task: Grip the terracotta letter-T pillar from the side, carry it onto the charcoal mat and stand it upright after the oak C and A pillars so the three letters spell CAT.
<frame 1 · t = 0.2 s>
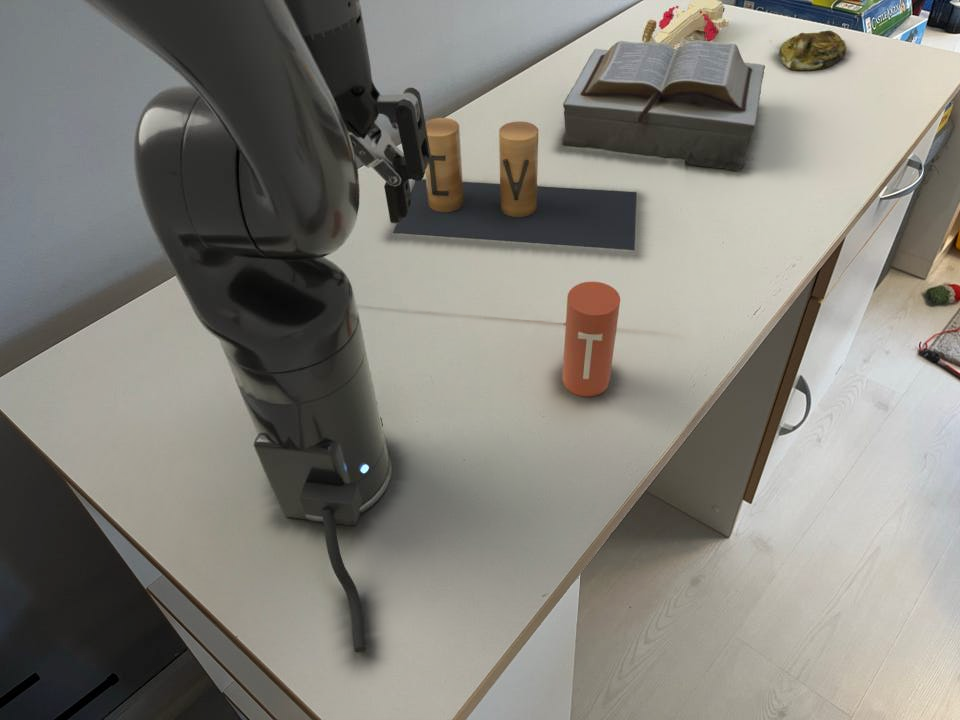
hand: (347, 213, 57), 17 cm above the table, tool pointing down, fingers open, 8 cm apart
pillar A: (518, 207, 87), point 1 cm above the table, touching word mat
word mat: (517, 216, 87), on the table
seal: (810, 55, 116), on the table
pillar T: (585, 379, 67), on the table
bible: (660, 128, 101), on the table
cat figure: (677, 49, 120), on the table
pillar C: (446, 202, 88), point 1 cm above the table, touching word mat
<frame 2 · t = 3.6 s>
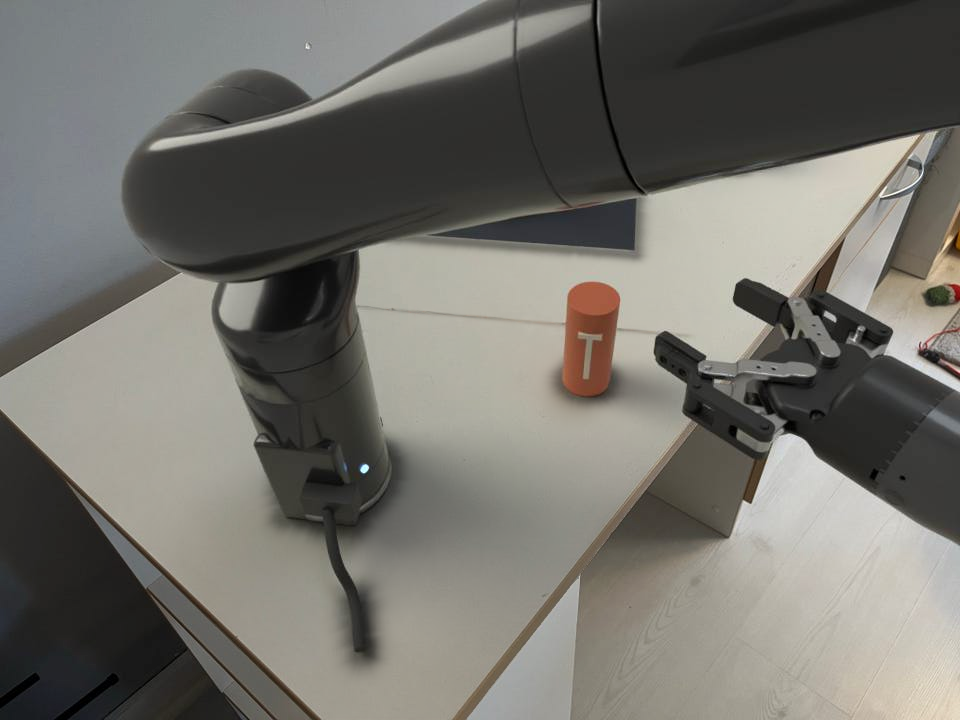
hand: (698, 315, 51), 15 cm above the table, tool horizontal, fingers open, 8 cm apart
nothing on the table moved.
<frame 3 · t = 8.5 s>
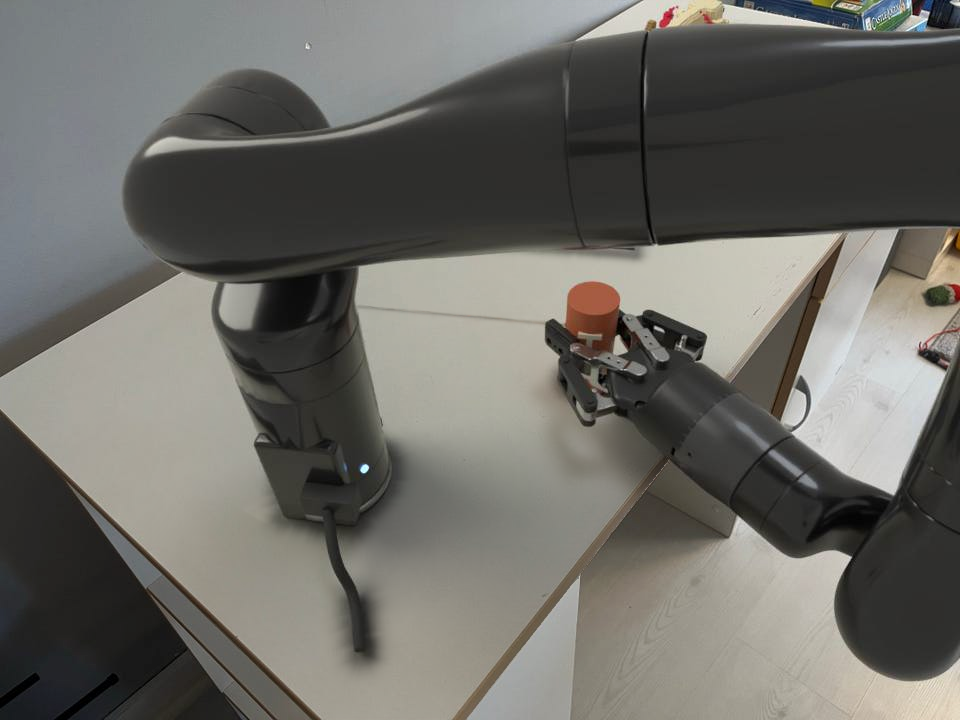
hand: (570, 316, 64), 6 cm above the table, tool horizontal, fingers closed on pillar T, 4 cm apart
pillar T: (585, 379, 67), on the table, touching gripper
everything else where it was.
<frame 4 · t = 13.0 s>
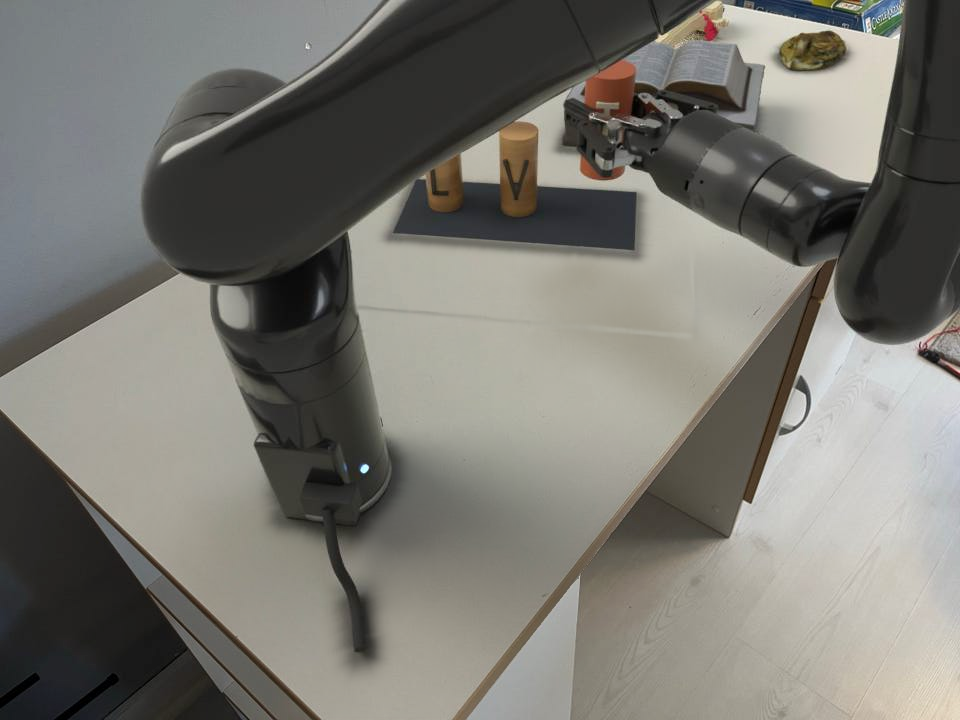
hand: (588, 101, 68), 18 cm above the table, tool horizontal, fingers closed on pillar T, 4 cm apart
pillar T: (602, 169, 71), point 12 cm above the table, touching gripper
everything else where it was.
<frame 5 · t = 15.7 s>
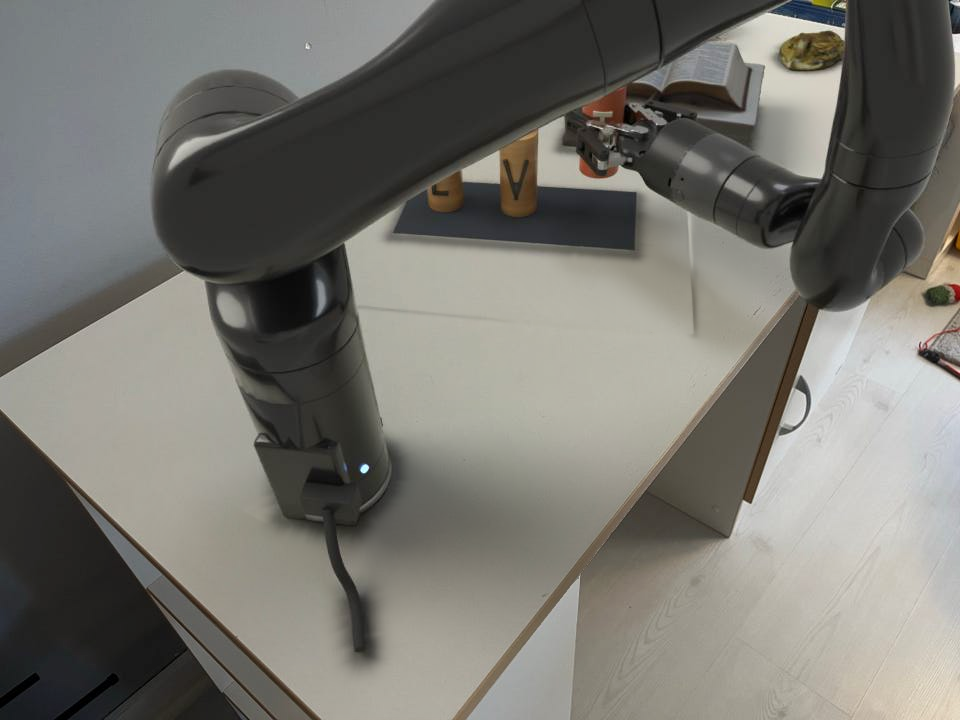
hand: (585, 110, 79), 12 cm above the table, tool horizontal, fingers closed on pillar T, 4 cm apart
pillar T: (598, 168, 81), point 6 cm above the table, touching gripper
everything else where it was.
when the fingers open (7 cm above the table, at t = 17.7 s): pillar T stays where it is, resting on word mat.
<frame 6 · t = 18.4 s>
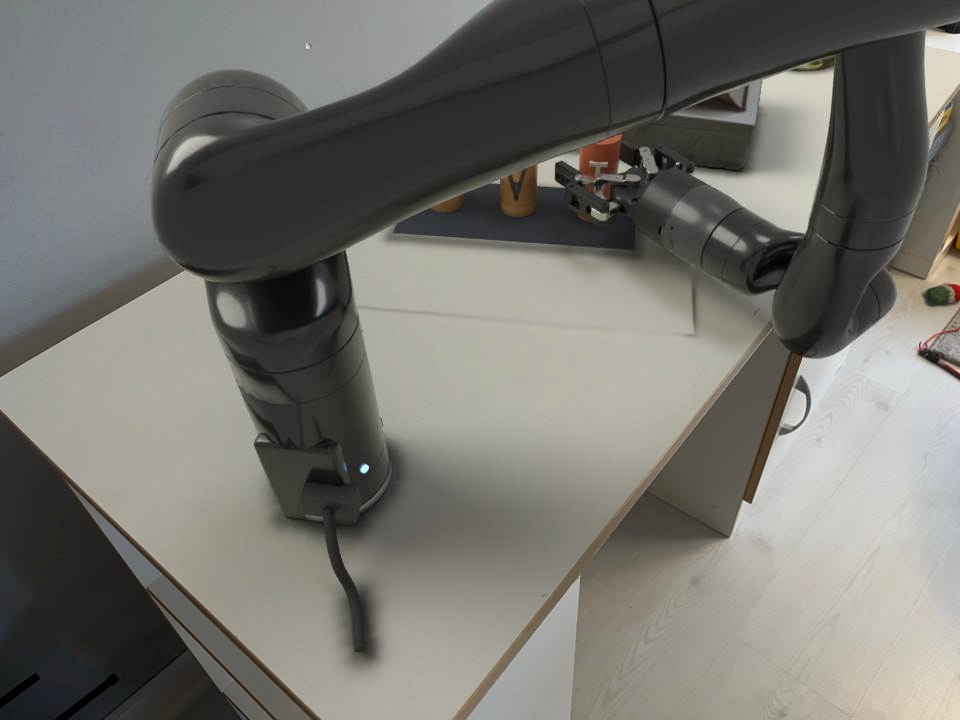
hand: (585, 156, 82), 7 cm above the table, tool horizontal, fingers open, 8 cm apart
pillar T: (594, 211, 85), point 1 cm above the table, touching word mat
everything else where it was.
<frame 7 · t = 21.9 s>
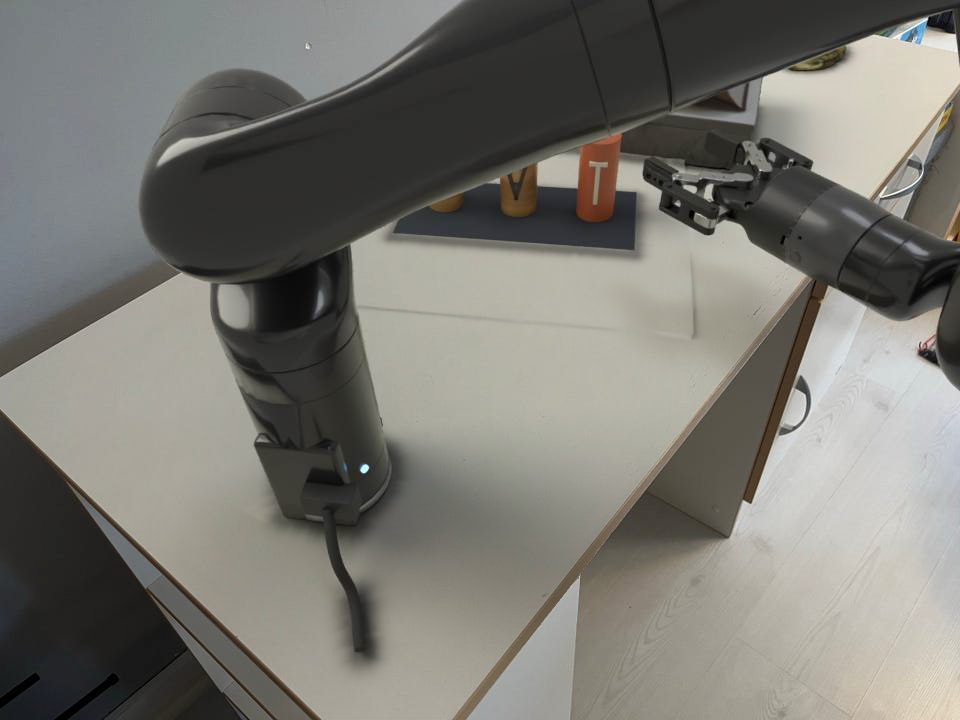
hand: (677, 152, 70), 13 cm above the table, tool horizontal, fingers open, 8 cm apart
nothing on the table moved.
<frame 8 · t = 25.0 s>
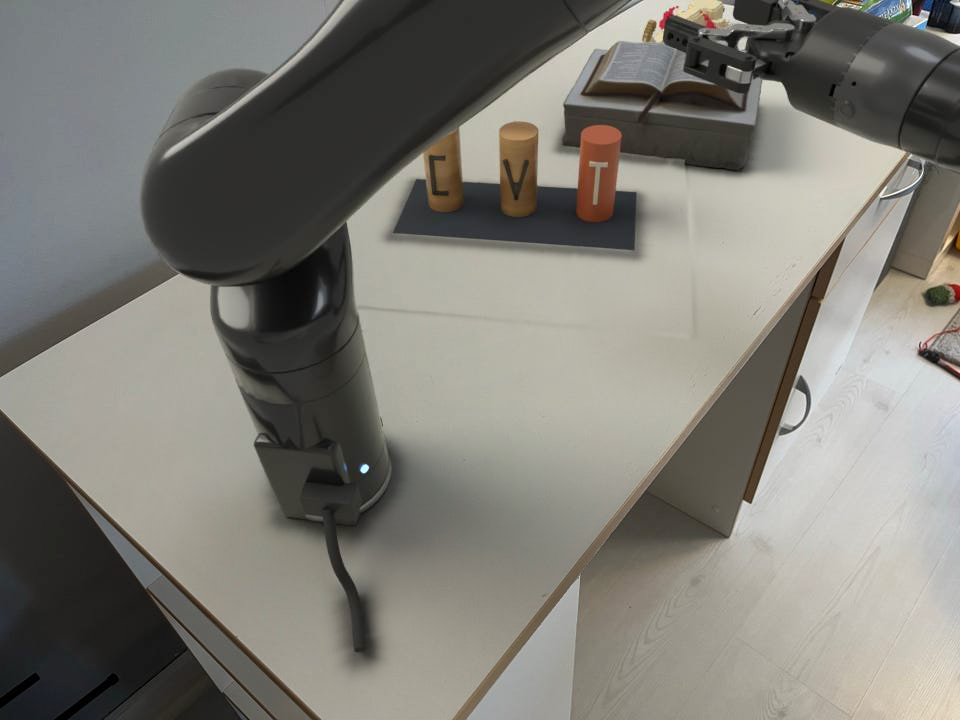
hand: (702, 16, 61), 26 cm above the table, tool horizontal, fingers open, 8 cm apart
nothing on the table moved.
at the end: pillar T 0.1 cm from the target spot on the table beside the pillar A, resting on word mat; pillar T tilted 0°; pillar T inside the target area on the word mat (9.2 cm from its centre), point 0.6 cm above the word mat's base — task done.
